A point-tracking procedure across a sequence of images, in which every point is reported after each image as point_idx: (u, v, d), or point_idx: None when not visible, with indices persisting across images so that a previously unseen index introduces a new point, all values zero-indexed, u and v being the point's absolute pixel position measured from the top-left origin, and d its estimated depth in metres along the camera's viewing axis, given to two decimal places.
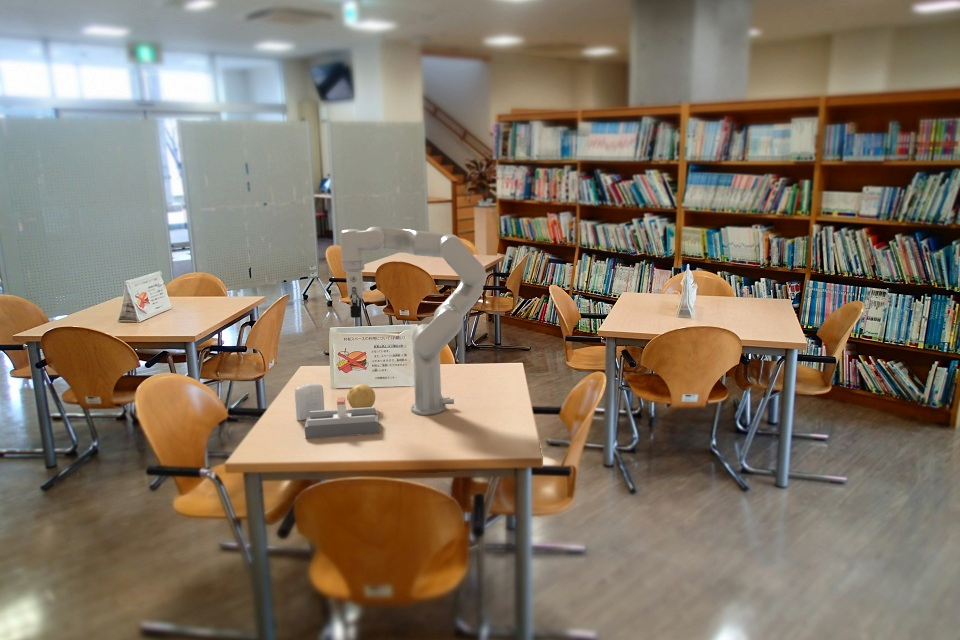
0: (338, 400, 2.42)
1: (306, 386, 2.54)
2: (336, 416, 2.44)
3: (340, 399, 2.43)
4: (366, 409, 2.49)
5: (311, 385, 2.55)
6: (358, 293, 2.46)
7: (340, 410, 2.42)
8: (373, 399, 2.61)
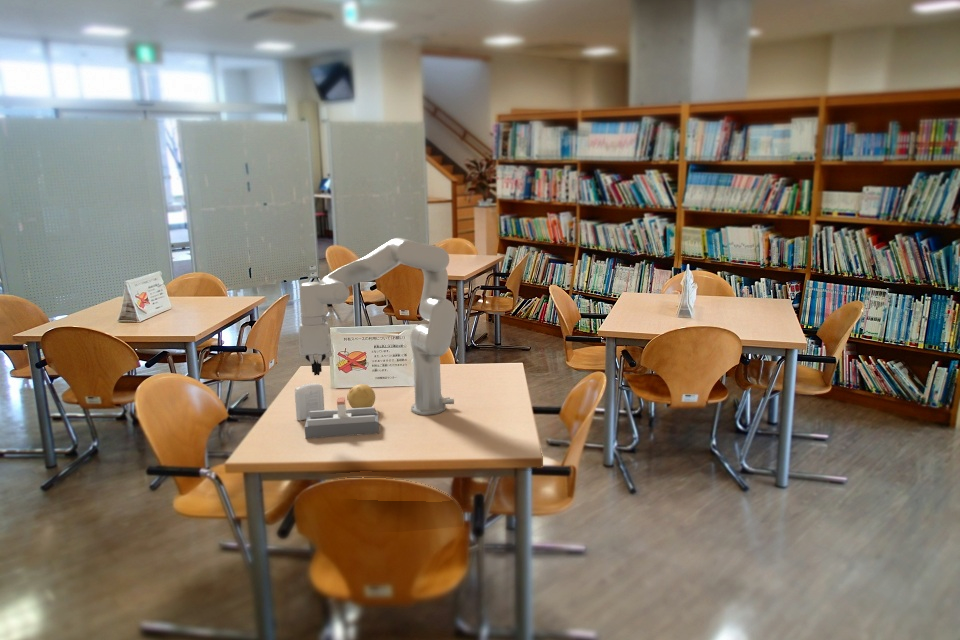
0: (338, 400, 2.42)
1: (306, 386, 2.54)
2: (336, 416, 2.44)
3: (340, 399, 2.43)
4: (366, 409, 2.49)
5: (311, 385, 2.55)
6: None
7: (340, 410, 2.42)
8: (373, 399, 2.61)
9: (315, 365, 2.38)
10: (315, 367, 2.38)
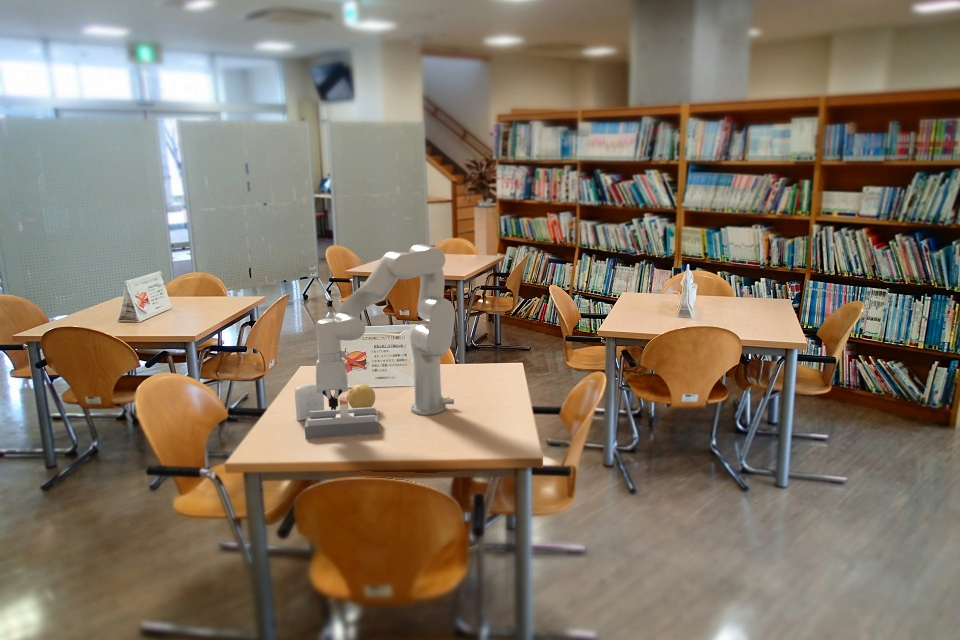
0: (341, 400, 2.42)
1: (306, 386, 2.54)
2: (339, 416, 2.45)
3: (343, 399, 2.43)
4: (366, 409, 2.49)
5: (311, 385, 2.55)
6: None
7: (343, 410, 2.42)
8: (373, 399, 2.61)
9: (332, 400, 2.41)
10: (332, 402, 2.41)
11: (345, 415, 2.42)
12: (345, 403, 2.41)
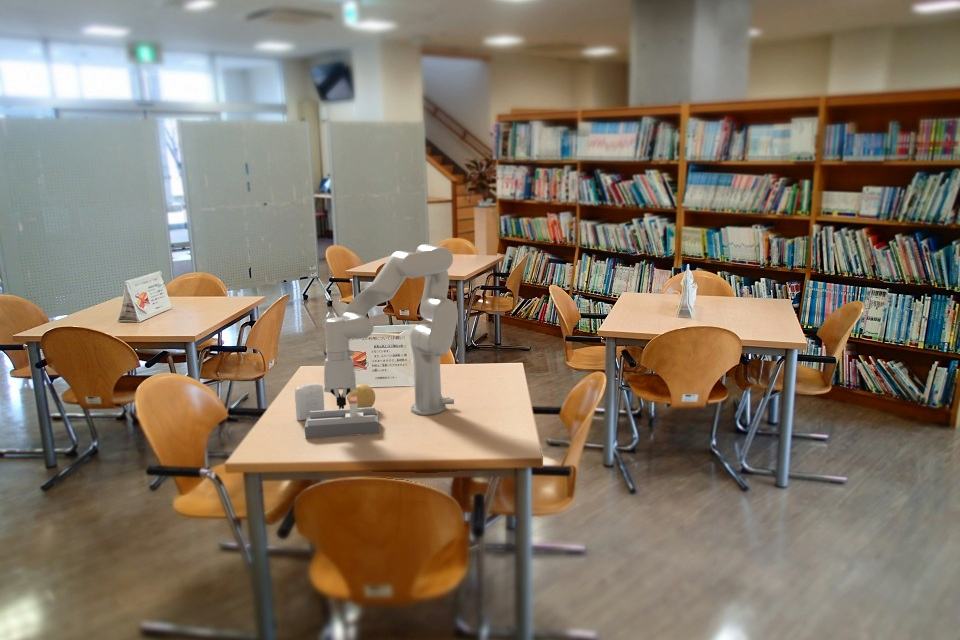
0: (350, 399, 2.43)
1: (306, 386, 2.54)
2: (348, 415, 2.45)
3: (352, 398, 2.44)
4: (366, 409, 2.49)
5: (311, 385, 2.55)
6: (355, 378, 2.43)
7: (352, 410, 2.42)
8: (373, 399, 2.61)
9: (340, 399, 2.41)
10: (340, 401, 2.42)
11: (355, 414, 2.43)
12: (355, 402, 2.42)
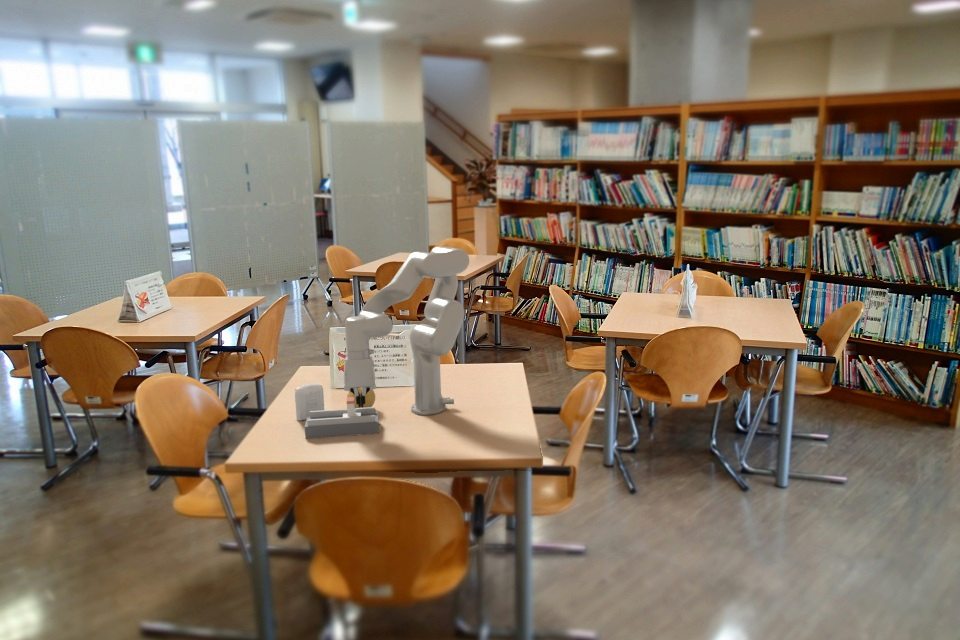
0: (348, 399, 2.43)
1: (306, 386, 2.54)
2: (346, 415, 2.45)
3: (350, 398, 2.44)
4: (366, 409, 2.49)
5: (311, 385, 2.55)
6: None
7: (350, 410, 2.42)
8: (373, 399, 2.61)
9: (359, 397, 2.42)
10: (359, 399, 2.42)
11: (352, 415, 2.42)
12: (352, 403, 2.42)
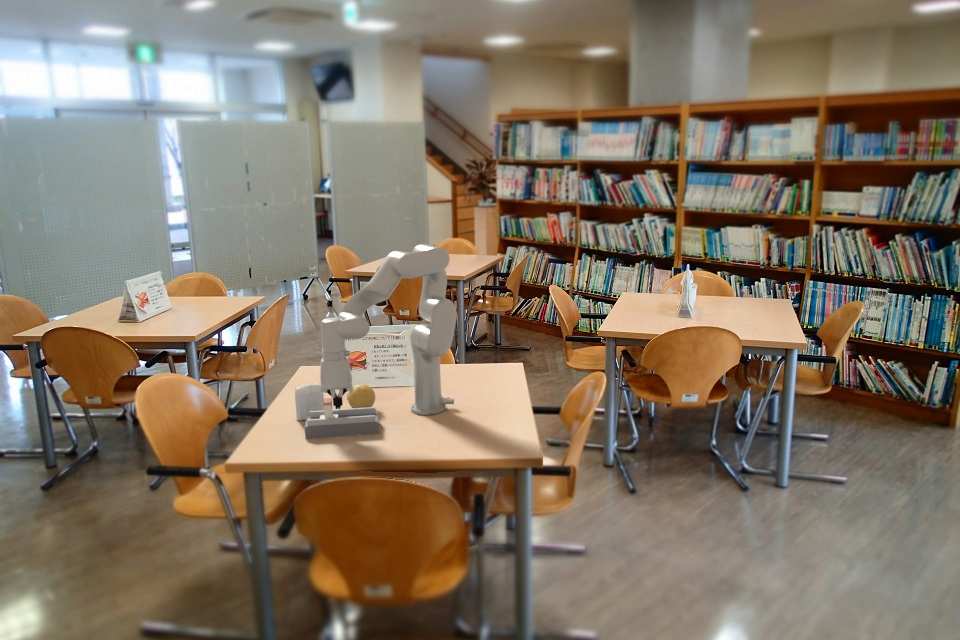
0: (325, 401, 2.42)
1: (306, 386, 2.54)
2: (323, 417, 2.44)
3: (327, 400, 2.43)
4: (366, 409, 2.49)
5: (311, 385, 2.55)
6: (351, 378, 2.43)
7: (327, 411, 2.41)
8: (373, 399, 2.61)
9: (336, 399, 2.41)
10: (336, 401, 2.41)
11: (329, 416, 2.42)
12: (329, 404, 2.41)
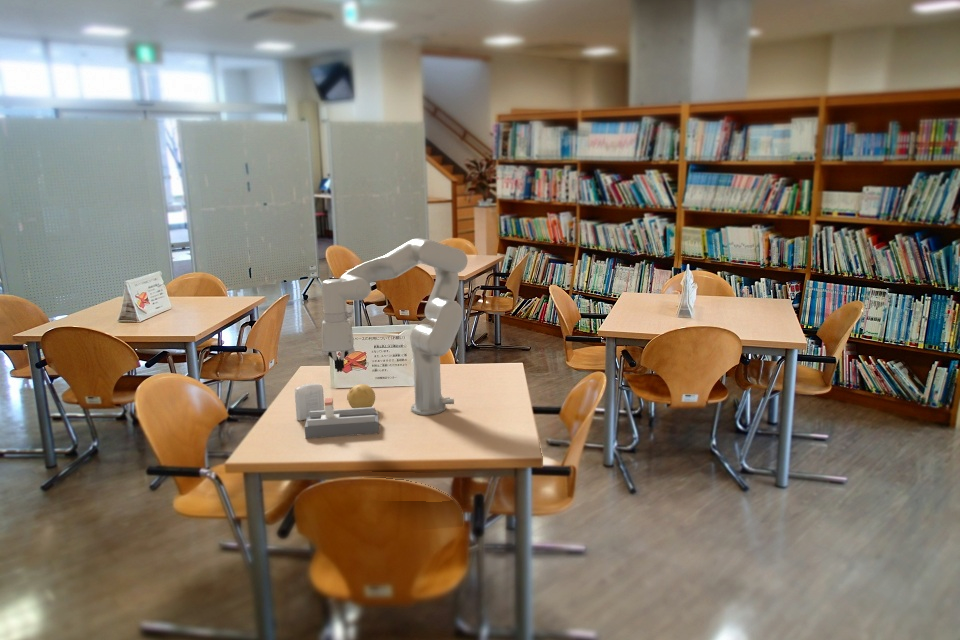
0: (326, 401, 2.42)
1: (306, 386, 2.54)
2: (324, 417, 2.44)
3: (328, 400, 2.43)
4: (366, 409, 2.49)
5: (311, 385, 2.55)
6: None
7: (328, 411, 2.41)
8: (373, 399, 2.61)
9: (338, 362, 2.39)
10: (338, 364, 2.39)
11: (330, 416, 2.42)
12: (330, 404, 2.41)
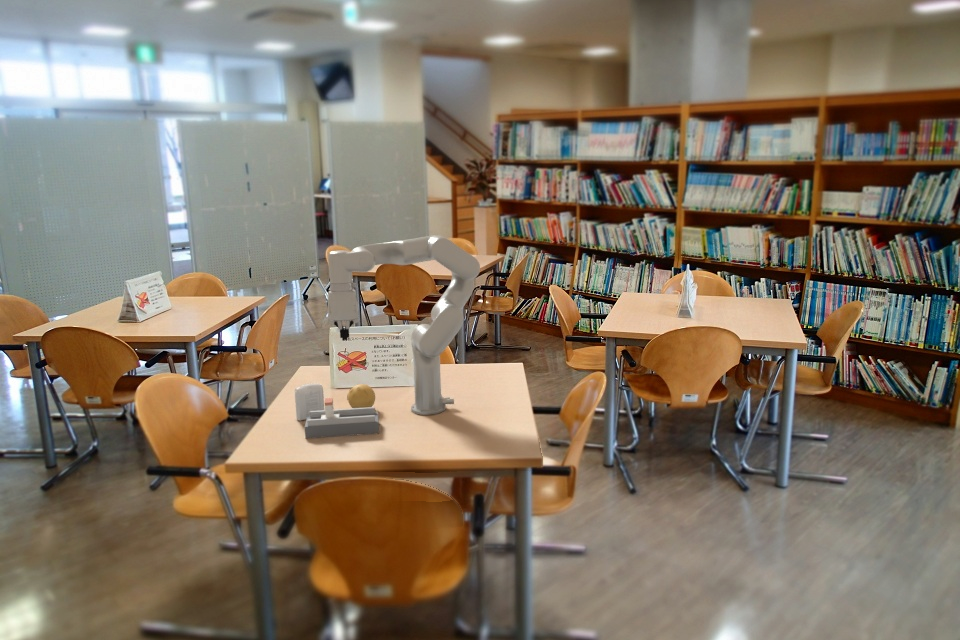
0: (326, 401, 2.42)
1: (306, 386, 2.54)
2: (324, 417, 2.44)
3: (328, 400, 2.43)
4: (366, 409, 2.49)
5: (311, 385, 2.55)
6: (358, 311, 2.49)
7: (328, 411, 2.41)
8: (373, 399, 2.61)
9: (343, 331, 2.47)
10: (343, 333, 2.47)
11: (330, 416, 2.42)
12: (330, 404, 2.41)
